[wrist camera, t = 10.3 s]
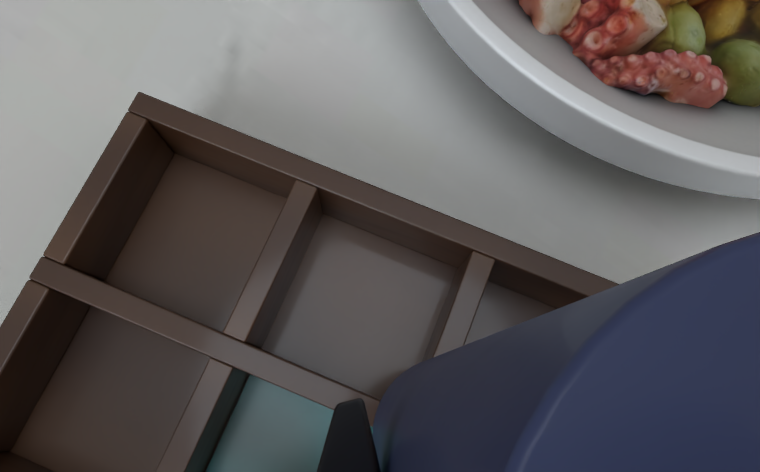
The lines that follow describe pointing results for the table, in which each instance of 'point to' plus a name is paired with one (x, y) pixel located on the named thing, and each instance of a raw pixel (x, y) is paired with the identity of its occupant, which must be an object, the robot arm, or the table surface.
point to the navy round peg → (597, 382)
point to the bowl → (626, 79)
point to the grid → (239, 305)
